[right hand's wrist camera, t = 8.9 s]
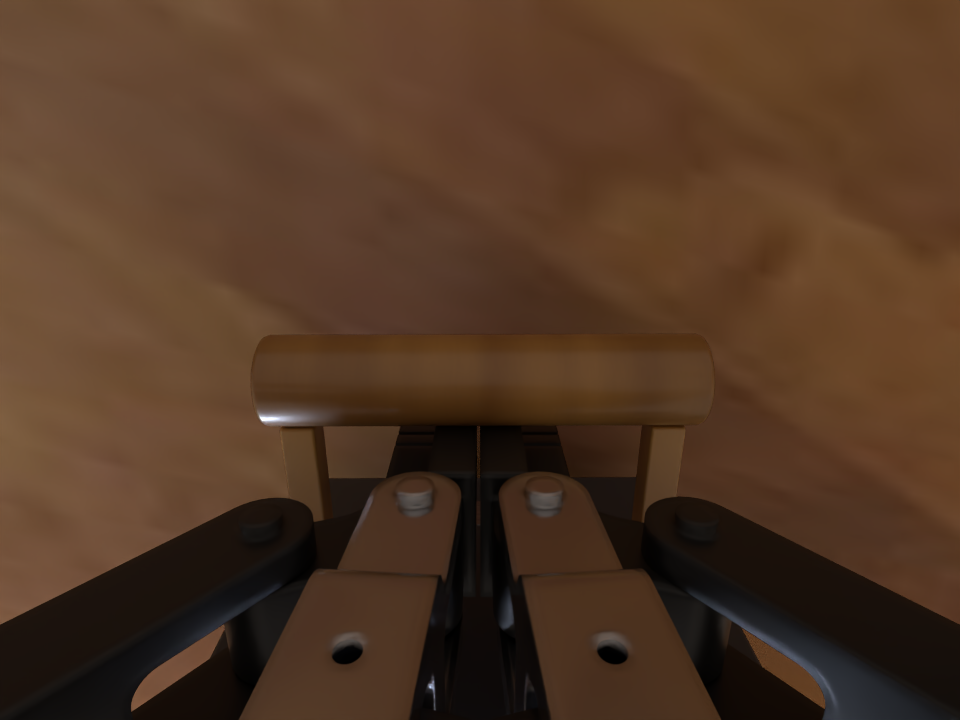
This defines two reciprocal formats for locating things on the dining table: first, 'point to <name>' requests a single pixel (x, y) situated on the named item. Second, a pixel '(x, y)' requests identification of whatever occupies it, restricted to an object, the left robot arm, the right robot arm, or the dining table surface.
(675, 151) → the dining table surface
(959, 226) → the dining table surface
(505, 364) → the drawer
